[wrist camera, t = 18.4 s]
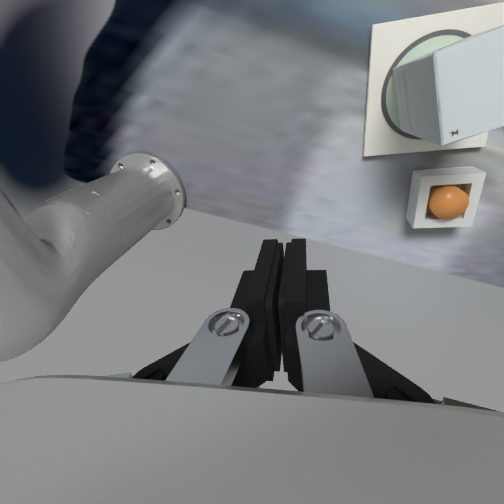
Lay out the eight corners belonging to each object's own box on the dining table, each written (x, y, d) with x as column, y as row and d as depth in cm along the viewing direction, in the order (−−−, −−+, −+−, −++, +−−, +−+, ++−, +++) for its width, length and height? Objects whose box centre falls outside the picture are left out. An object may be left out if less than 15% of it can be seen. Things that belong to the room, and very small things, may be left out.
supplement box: (468, 109, 33) (545, 117, 22) (399, 132, 36) (439, 149, 25) (465, 36, 30) (553, 4, 19) (390, 66, 33) (431, 53, 22)
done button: (422, 211, 39) (429, 220, 37) (426, 183, 37) (435, 190, 35) (454, 210, 39) (464, 218, 36) (461, 181, 37) (472, 187, 34)
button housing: (405, 218, 42) (413, 228, 39) (412, 170, 38) (421, 176, 35) (459, 216, 40) (471, 226, 37) (471, 165, 37) (486, 172, 34)
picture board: (362, 155, 38) (364, 156, 38) (371, 26, 32) (373, 24, 31) (481, 145, 36) (485, 146, 35) (517, 1, 29) (524, -2, 28)
